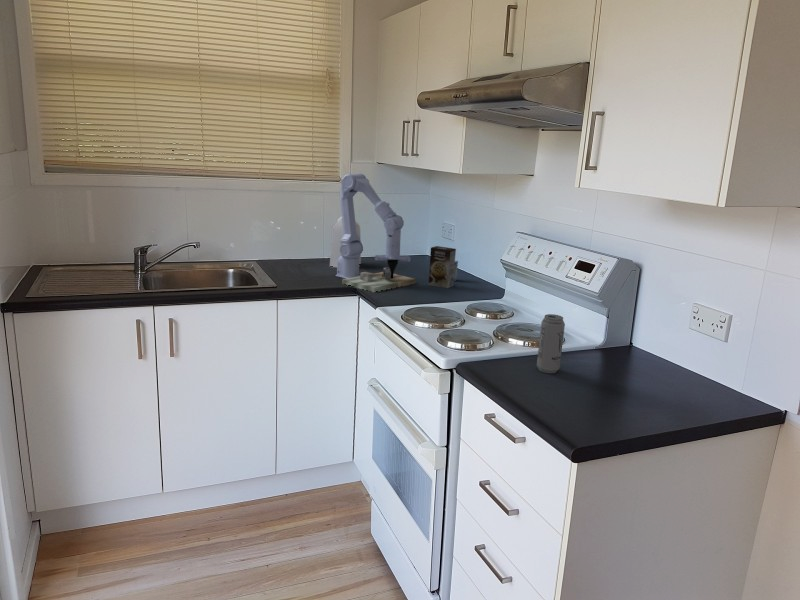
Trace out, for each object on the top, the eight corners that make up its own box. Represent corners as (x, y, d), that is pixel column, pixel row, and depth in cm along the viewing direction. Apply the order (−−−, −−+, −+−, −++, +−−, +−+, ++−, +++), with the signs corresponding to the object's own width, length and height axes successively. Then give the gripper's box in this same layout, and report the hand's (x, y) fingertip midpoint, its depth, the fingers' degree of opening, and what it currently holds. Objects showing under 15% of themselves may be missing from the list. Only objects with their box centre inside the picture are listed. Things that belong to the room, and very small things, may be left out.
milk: (353, 268, 279) (354, 212, 273) (329, 266, 282) (330, 210, 275) (360, 264, 291) (362, 210, 284) (338, 262, 293) (339, 208, 287)
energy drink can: (555, 375, 160) (562, 321, 156) (533, 370, 162) (539, 317, 159) (561, 369, 165) (568, 316, 161) (540, 364, 168) (545, 312, 164)
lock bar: (383, 273, 260) (383, 267, 259) (390, 273, 260) (390, 267, 259) (383, 279, 249) (384, 272, 248) (391, 279, 249) (391, 273, 248)
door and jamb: (342, 284, 249) (342, 272, 248) (384, 276, 268) (384, 264, 267) (373, 292, 238) (374, 280, 237) (415, 283, 256) (415, 272, 255)
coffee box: (427, 285, 254) (430, 247, 250) (434, 282, 260) (436, 245, 256) (447, 288, 250) (450, 250, 246) (453, 285, 256) (456, 248, 252)
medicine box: (437, 280, 265) (438, 260, 263) (439, 278, 269) (440, 258, 267) (455, 281, 263) (456, 262, 261) (456, 279, 268) (458, 260, 265)
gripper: (375, 246, 244) (374, 279, 247) (411, 247, 244) (409, 280, 247) (375, 243, 250) (374, 275, 254) (410, 244, 251) (409, 276, 254)
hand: (391, 277), depth 251 cm, fingers closed
